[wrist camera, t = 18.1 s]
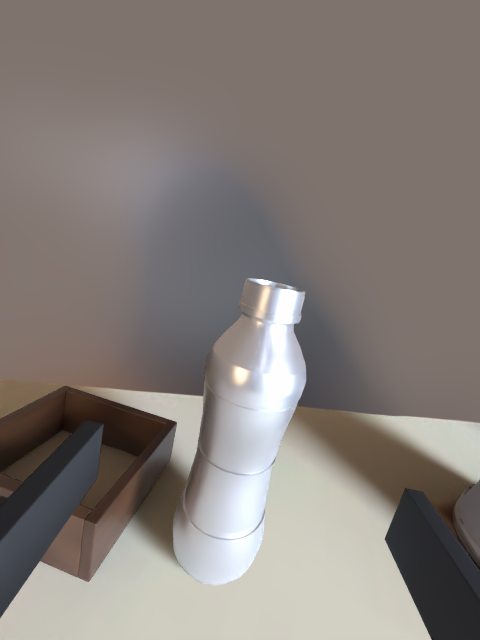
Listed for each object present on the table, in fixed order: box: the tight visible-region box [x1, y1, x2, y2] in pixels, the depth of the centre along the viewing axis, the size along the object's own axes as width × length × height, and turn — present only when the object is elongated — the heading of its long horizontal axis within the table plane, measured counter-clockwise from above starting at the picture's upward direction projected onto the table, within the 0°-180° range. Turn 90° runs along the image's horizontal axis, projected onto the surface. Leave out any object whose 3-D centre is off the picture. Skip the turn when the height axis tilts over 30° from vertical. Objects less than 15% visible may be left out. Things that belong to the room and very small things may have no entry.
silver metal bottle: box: [173, 278, 306, 585], centre depth 19 cm, size 6×7×20 cm
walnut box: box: [0, 386, 177, 582], centre depth 24 cm, size 13×12×4 cm
